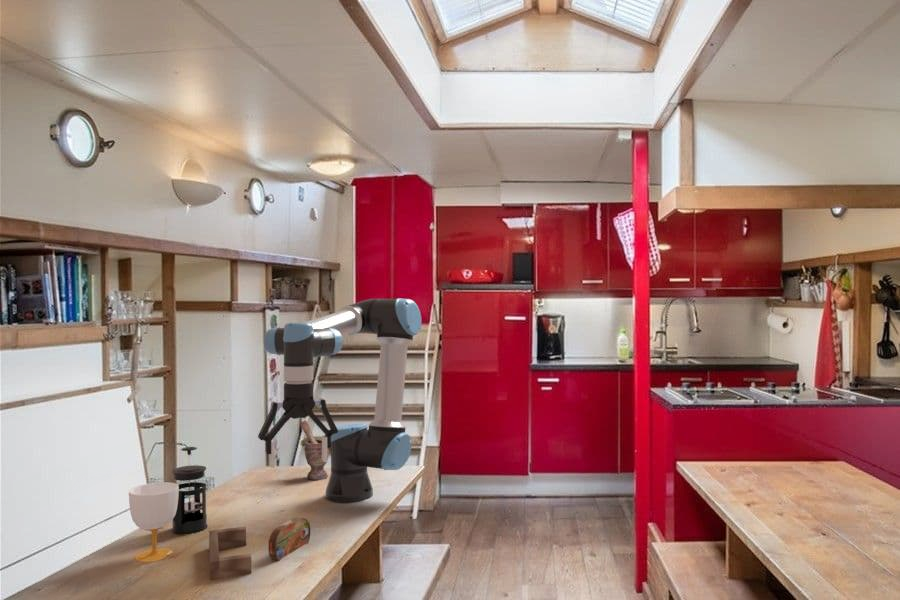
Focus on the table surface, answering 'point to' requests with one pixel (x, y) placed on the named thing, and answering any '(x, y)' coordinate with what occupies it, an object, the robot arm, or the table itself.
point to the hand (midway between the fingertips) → (298, 463)
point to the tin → (288, 538)
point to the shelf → (232, 563)
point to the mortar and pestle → (314, 454)
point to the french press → (189, 513)
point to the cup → (153, 513)
